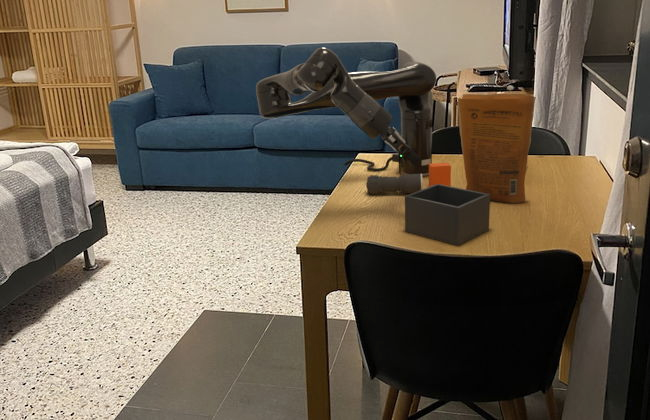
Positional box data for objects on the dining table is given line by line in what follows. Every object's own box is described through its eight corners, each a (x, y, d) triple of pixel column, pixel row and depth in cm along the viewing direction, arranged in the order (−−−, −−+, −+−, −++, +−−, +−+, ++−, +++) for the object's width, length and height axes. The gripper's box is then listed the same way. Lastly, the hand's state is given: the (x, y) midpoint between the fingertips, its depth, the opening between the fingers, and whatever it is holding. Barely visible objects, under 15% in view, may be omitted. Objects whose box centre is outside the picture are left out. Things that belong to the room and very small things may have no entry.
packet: (430, 208, 169) (431, 166, 165) (428, 204, 172) (428, 163, 168) (450, 207, 169) (450, 165, 166) (447, 203, 172) (448, 162, 169)
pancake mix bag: (526, 207, 166) (531, 96, 157) (454, 198, 176) (456, 92, 167) (533, 200, 171) (539, 91, 163) (463, 191, 181) (465, 89, 173)
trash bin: (404, 231, 154) (404, 196, 151) (436, 217, 162) (437, 183, 159) (458, 245, 144) (458, 208, 141) (489, 229, 152) (490, 194, 150)
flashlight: (366, 196, 181) (365, 177, 179) (367, 191, 186) (366, 172, 184) (422, 196, 179) (422, 176, 177) (422, 190, 184) (422, 171, 182)
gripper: (355, 121, 170) (399, 162, 174) (361, 132, 156) (409, 176, 160) (375, 99, 168) (419, 141, 172) (383, 108, 155) (431, 153, 159)
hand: (414, 158), depth 166 cm, fingers open, 8 cm apart
